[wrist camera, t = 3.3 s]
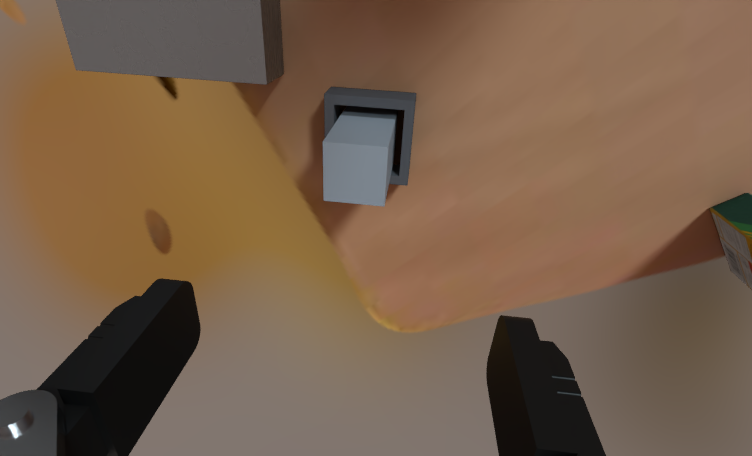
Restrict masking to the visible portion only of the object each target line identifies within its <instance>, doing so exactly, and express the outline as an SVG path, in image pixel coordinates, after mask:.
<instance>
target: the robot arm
mask: <svg viewBox="0 0 752 456" xmlns="http://www.w3.org/2000/svg"><path fill="white" fill-rule="evenodd" d="M199 337H200V322H199V316H198V311H197V306H196V301H195V296H194V291H193V287H192V285H191V283H190V282H188V281H179V280H169V279H158V280H156V281H155V282H154V283H153V284H152V285H151V286H150V287H149V288H148V289H147V291H146V292H145V293H144V294H143V295H142V296H134V297H133V298H131V299H129V300H128V301H126V302H124V303H123V304H121V305H119V306H118V307H116V308H115V309H114V310H113V311H112V312H111V313H110V314H109V315H108V316H107V317H106V318H105V319H104V320H103V321H102V322H101V325H100V326H97V327H96V328H95V329H94V331H93V332H92V333H91V334H90V335H89V336H88V339H85V340H84V341H83V342H82V343H81V344H80V345H79V346H78V347H77V348H76V349H75V350H74V351H73V352H72V353H71V354H70V355H69V356H68V357H67V359H66V360H65V361H64V362H63V363H62V364H61V365H60V366H59V367H58V368H57V369H56V370H55V371H54V372H53V373H52V374H51V375H50V376H49V377H48V378H47V379H46V381H44V383H42V385H41V386H40V387H39V388H37V389H36V390H28V391H23V392H19V393H16V394H13V395H10V396H8V397H6V398H4V399H1V400H0V456H128V455H129V453H130V452H131V451H132V449H133V447H134V446H135V444H136V443H137V441H138V439H139V438H140V436H141V435H142V433H143V431H144V430H145V428H146V426H147V425H148V424H149V422H150V420H151V419H152V417H153V415H154V414H155V412H156V411H157V409H158V407H159V406H160V405H161V403H162V401H163V400H164V398H165V397H166V395H167V393H168V392H169V390H170V388H171V387H172V385H173V384H174V382H175V381H176V379H177V377H178V376H179V374H180V373H181V371H182V370H183V368H184V366H185V365H186V363H187V362H188V360H189V358H190V357H191V355H192V354H193V352H194V350H195V349H196V346H197V344H198V341H199ZM487 386H488V392H489V398H490V404H491V410H492V416H493V422H494V428H495V434H496V440H497V446H498V452H499V456H606V455H605V452H604V450H603V447H602V445H601V442H600V439H599V437H598V434H597V432H596V430H595V427H594V425H593V422H592V419H591V417H590V414H589V412H588V409H587V407H586V404H585V401H584V399H583V397H581V391H580V389H579V386H578V384H577V382H576V381H575V376H574V374H573V371H572V369H571V366H570V364H569V361H568V359H567V358H566V357H565V355H564V354H563V353H562V352H561V351H560V350H559V349H558V347H557V346H556V345H555V344H554V343H553V342H549V341H540V339H539V337H538V334H537V331H536V328H535V325H534V322H533V320H532V319H530V318H521V317H511V316H502V315H501V316H500V317H499V319H498V322H497V326H496V329H495V333H494V337H493V342H492V345H491V349H490V352H489V356H488V362H487Z"/></svg>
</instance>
